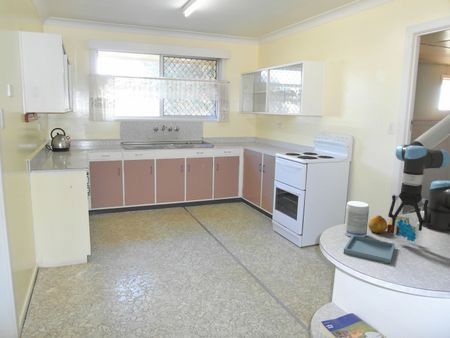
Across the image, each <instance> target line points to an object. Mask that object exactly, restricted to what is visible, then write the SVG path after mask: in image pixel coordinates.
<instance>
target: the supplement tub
mask: <svg viewBox="0 0 450 338" xmlns="http://www.w3.org/2000/svg"><path fill="white" fill-rule="evenodd" d="M369 213H370V205H369V204H368V203H366V202H365V201H364V202H363V201H358V200H357V201H356V200H351V201H348V202H346V208H345V221H344V234H345V236H349V237H350V238H351V237H352V235H355V236H360V237H364V238H366V237H367V234H368V223H369V215H370V214H369Z"/></svg>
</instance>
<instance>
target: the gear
mask: <svg viewBox="0 0 450 338" xmlns="http://www.w3.org/2000/svg"><path fill="white" fill-rule="evenodd" d="M397 223H398V224H399V225H397V227H398V228H400V230H399V231H400V233H398V234H396V236H397V237H400V236H402V237H403V238H406V239H407V240H408V242H410V241H411V242H415V240H416V238H415V237H416V231H415V229H416V228H415V226H412V224H410V222H409V223H408V224H407V225H406V223H407V222H406V221H405V220H404V221H403V220H401V219H400V220H399V221H398V222H397ZM411 226H412V227H411ZM402 234H404V235H402Z"/></svg>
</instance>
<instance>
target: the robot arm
mask: <svg viewBox="0 0 450 338" xmlns="http://www.w3.org/2000/svg"><path fill="white" fill-rule="evenodd" d="M449 136H450V113H449V114H448V115H446V117H444V118H443V119H441V120H440V121H438V122H437V123H436V124H434V125H433V126H432V127H431V128H429V129H427V130H426V131H425V132H424V133H422V134H421V135H420V136H418V137H417V138H416V139H415V140H413V141H411V143H409V144H400V145H399V146H397V148H396V150H395V157H396V159H397V160H398V161H401V162H403V170H402V178H401V182H402V183H401V186H400V193H399V194H395V193H393V194H392V196H391V199H392V201H391V205H390V209H389V212H388V215H387V217H388V218H390V219H391V218H392V226H395V228H394V233H393V235H396V236H397V234H396V231H397V222H398V218H396V217H397V216H399V214H400V213H401V211H402V210H403V208H404V206H411V207H413V208H414V210H415V213H416V217H417V220H418V221H417V223H416V228H415V229H416V230H415V233H416V236H415V238H416V239H418V237H419V232H422V230H423V227H424V228H425V229H429V230H432V231H436V232H441V233H442V232H443V233H450V180H433V181H432V182H431V184H430V187H429V193H428V198H425V197H423V196H422V188H423V185H422V184H423V183H424V182H423V181H424V174H425V170H426V169H441V168H446V167H447V166H448V165H449V164H450V153H449V152H448V151H447V150H445V149H433V148H435V147H436V146H438V145H439V144H441V142H443V141H444V140H446V139H447V138H448V137H449ZM398 199H400V201H401V202H400V204H399V206H398V208H397V209H396V211H395V212H394V214H393V211H394V209H395V206H396V205H395V204H396V202H397V200H398ZM420 202H422V204H423V216H422V214H421V212H420V208H419V205H418V204H419V203H420ZM416 239H415V240H416Z"/></svg>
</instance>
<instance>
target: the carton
mask: <svg viewBox="0 0 450 338" xmlns="http://www.w3.org/2000/svg"><path fill="white" fill-rule="evenodd" d="M396 218H398V221H399V220H400V219H401V220H403V221H404V220H405V221H406V222H407V223H406V225H407V224H408V223H409V224H410V217H403V216H399V215H398V216H397V217H396ZM397 225H399V224H398V223H397ZM394 228H395V226H392V218H391V217H390V218H389V221H388V222H387V229H386V232H387V233H393V234H394ZM399 230H400V228H398V227H397V231H396V235H397V234H398V233H400V231H399ZM403 235H404V234H402V235H401V236H403Z"/></svg>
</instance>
